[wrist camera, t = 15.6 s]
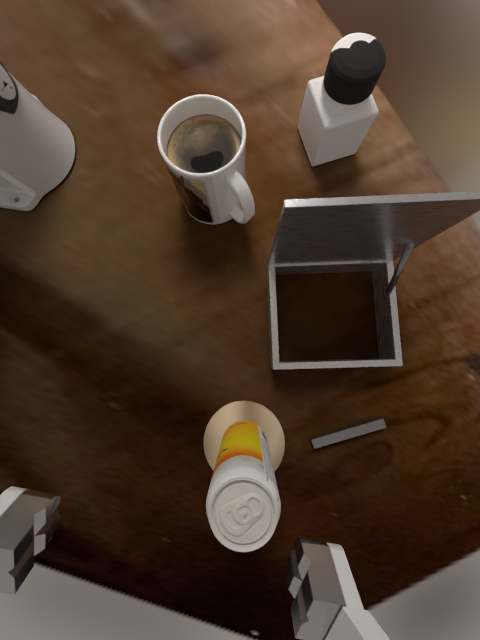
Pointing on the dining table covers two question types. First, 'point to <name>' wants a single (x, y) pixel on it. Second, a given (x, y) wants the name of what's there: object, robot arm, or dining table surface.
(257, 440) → the beer can
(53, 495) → the robot arm
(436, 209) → the case
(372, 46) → the medicine bottle
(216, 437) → the pad
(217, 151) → the mug
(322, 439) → the bar
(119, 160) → the dining table surface
